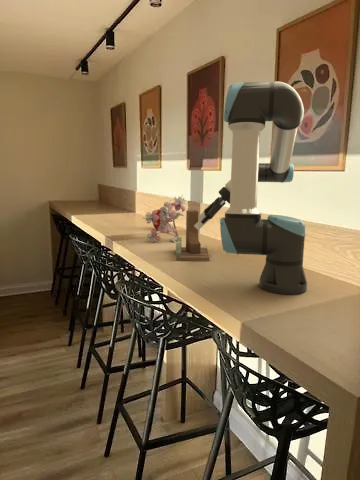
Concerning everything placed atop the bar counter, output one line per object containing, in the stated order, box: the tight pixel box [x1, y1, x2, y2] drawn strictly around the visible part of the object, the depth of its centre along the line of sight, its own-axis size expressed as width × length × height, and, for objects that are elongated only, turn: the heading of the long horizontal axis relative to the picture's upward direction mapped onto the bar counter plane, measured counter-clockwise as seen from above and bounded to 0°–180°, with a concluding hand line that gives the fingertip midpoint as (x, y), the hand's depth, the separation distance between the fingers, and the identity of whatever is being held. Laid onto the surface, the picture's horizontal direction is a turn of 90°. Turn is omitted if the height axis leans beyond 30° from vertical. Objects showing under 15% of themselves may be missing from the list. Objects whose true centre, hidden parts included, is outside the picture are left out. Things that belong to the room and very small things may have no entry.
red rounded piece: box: [151, 208, 163, 231], centre depth 233 cm, size 10×10×14 cm
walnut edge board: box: [175, 236, 210, 262], centre depth 168 cm, size 20×14×6 cm
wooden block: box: [185, 209, 202, 254], centre depth 167 cm, size 9×4×18 cm, turn 13°
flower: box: [142, 194, 186, 244], centre depth 198 cm, size 20×22×25 cm
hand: (195, 225), depth 169 cm, fingers open, 13 cm apart
